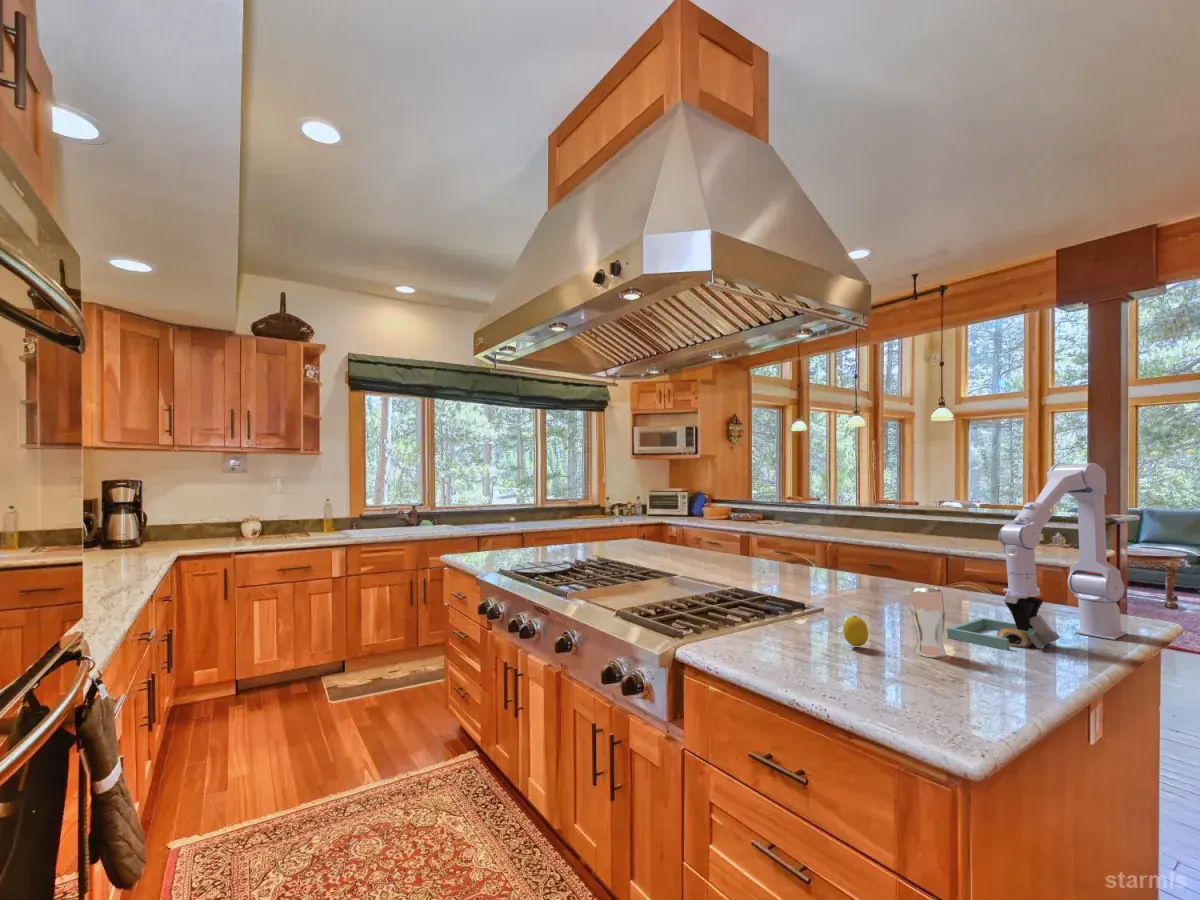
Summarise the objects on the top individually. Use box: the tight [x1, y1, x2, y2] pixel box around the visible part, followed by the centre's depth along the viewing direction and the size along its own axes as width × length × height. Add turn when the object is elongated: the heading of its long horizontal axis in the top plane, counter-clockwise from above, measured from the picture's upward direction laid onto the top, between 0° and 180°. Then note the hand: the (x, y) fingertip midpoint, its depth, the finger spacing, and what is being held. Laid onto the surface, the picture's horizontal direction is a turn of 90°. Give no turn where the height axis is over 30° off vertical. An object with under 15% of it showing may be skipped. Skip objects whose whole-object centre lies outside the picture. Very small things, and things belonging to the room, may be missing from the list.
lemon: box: [842, 614, 869, 647], centre depth 135 cm, size 6×6×8 cm
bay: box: [946, 617, 1035, 651], centre depth 140 cm, size 18×13×2 cm
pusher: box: [1028, 614, 1061, 649], centre depth 132 cm, size 10×4×6 cm
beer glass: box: [910, 586, 947, 659], centre depth 129 cm, size 7×7×15 cm
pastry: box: [996, 628, 1033, 648], centre depth 136 cm, size 9×7×4 cm
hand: (1025, 629), depth 134 cm, fingers closed on pusher, 3 cm apart
